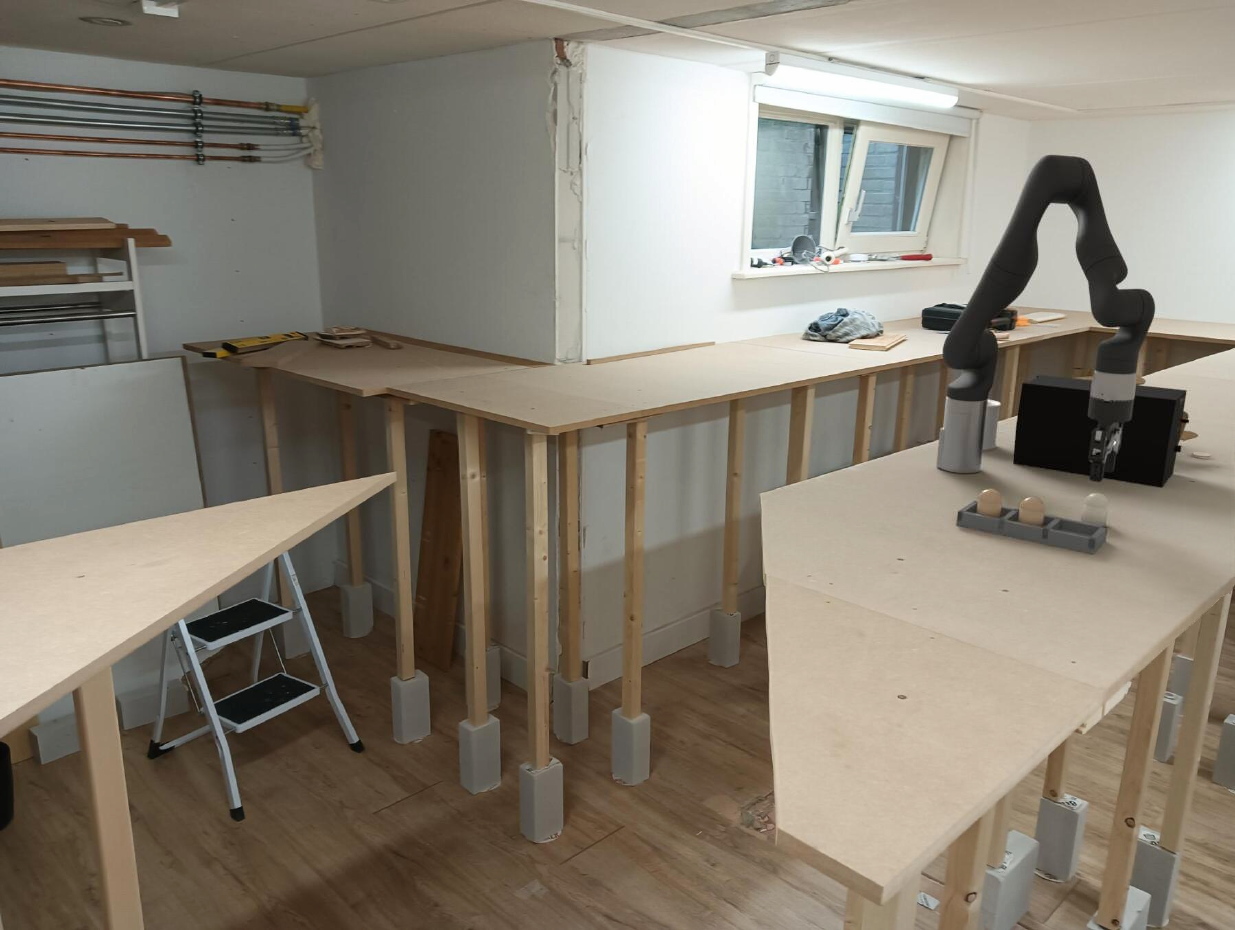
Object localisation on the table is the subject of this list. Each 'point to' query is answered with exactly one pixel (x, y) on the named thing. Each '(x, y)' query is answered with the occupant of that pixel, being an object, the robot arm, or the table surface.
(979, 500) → the brown egg back
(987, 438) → the white tall cylinder
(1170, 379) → the table surface
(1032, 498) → the brown egg middle
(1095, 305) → the robot arm
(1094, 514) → the cream egg
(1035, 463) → the uninterruptible power supply
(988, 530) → the egg tray
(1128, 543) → the table surface
